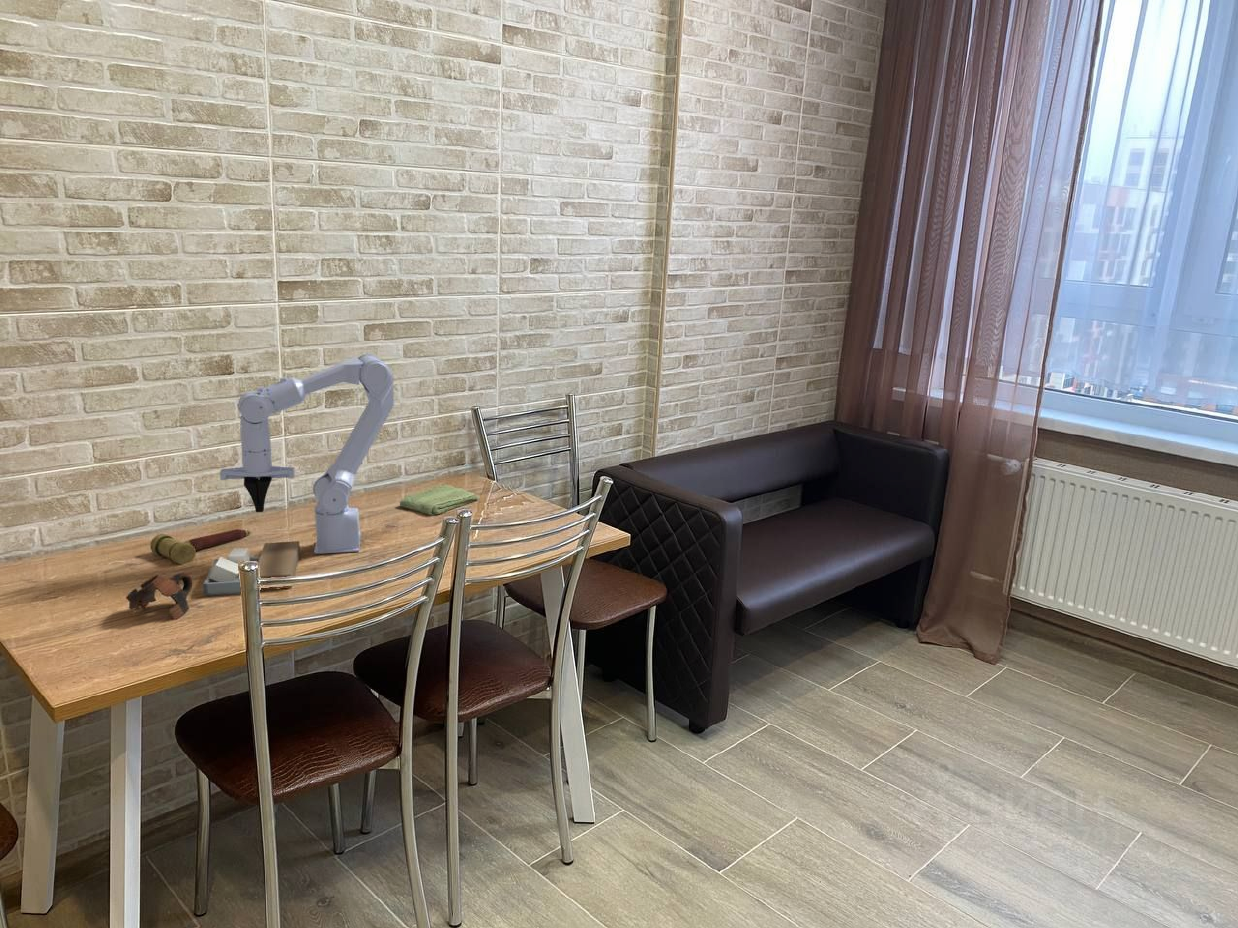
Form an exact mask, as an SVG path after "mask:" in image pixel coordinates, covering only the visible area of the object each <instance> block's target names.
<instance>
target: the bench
mask: <svg viewBox="0 0 1238 928" xmlns="http://www.w3.org/2000/svg"><path fill="white" fill-rule="evenodd" d="M300 556H301V549H300V540H297V541H296V540H295V541H280V542H279V541H277V542H265V543H264V544H263V548H262V551H261V554H260V556H259V562H258V563H259V565H260V577H261V578H271V577H287V576H295V577H296V573H295V572H297V569H296V567H297V568H298V564H299V561H300ZM297 563H298V564H297ZM277 588H291V589H292V588H293V585H292V586H283V587H269V588H261V591H273V590H275V591H276V590H278V589H277Z"/></svg>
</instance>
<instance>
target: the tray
mask: <svg viewBox="0 0 1238 928" xmlns="http://www.w3.org/2000/svg"><path fill="white" fill-rule="evenodd" d="M226 559H227V560H228V558H226ZM259 559H260V556H251V557H250V561H257V562H259ZM218 560H219V558H216V559H214V561H213V562H212V565H211V567H210V569H209V572H208V574H207V576H206V579H205V580H204V582H203V591H204V593H203V595H204V597H210V596H227V595H240V594H241V587H240V579H239V577H236V579H235V581H229V582H218V581H215V580H213V579H210V578H209V577H210V575H211V573H212V571H213V569H214V567H215V565H216V563H217V562H218Z"/></svg>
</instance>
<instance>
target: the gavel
mask: <svg viewBox="0 0 1238 928" xmlns="http://www.w3.org/2000/svg"><path fill="white" fill-rule="evenodd" d="M251 534H252V530H250V529H238V528H236V529H233V530H232V529H231V530H228V531H223V532H219V533H215V534H214V533H213V534H209V535H205V536H204V535H203V536H199V537H195V538H191V539H189V540H186V541H179V540H177V539H174V538H173V537H172V536H170V535H169V534H165V533H158V534H157V535H155V536H154V537H153V538H152V539H151V541H150V545H149V547H150V551H151V552H152V553H153V554H155V555H158V556H160V557H163V556H164V557H166V558H168V559H171V560H172V561H173V562H174V563H176V564H178V565H180V566H181V565H184V564H188V563H191V562H193V561H194V559H195V558H196V553H197V552H196V551H198V550H202V549H206V548H211V547H212V548H213V547H215V546H220V545H223V544H228V543H232V542H236V541H240V540H242V539H243V538H245V537H248V535H251Z"/></svg>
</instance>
